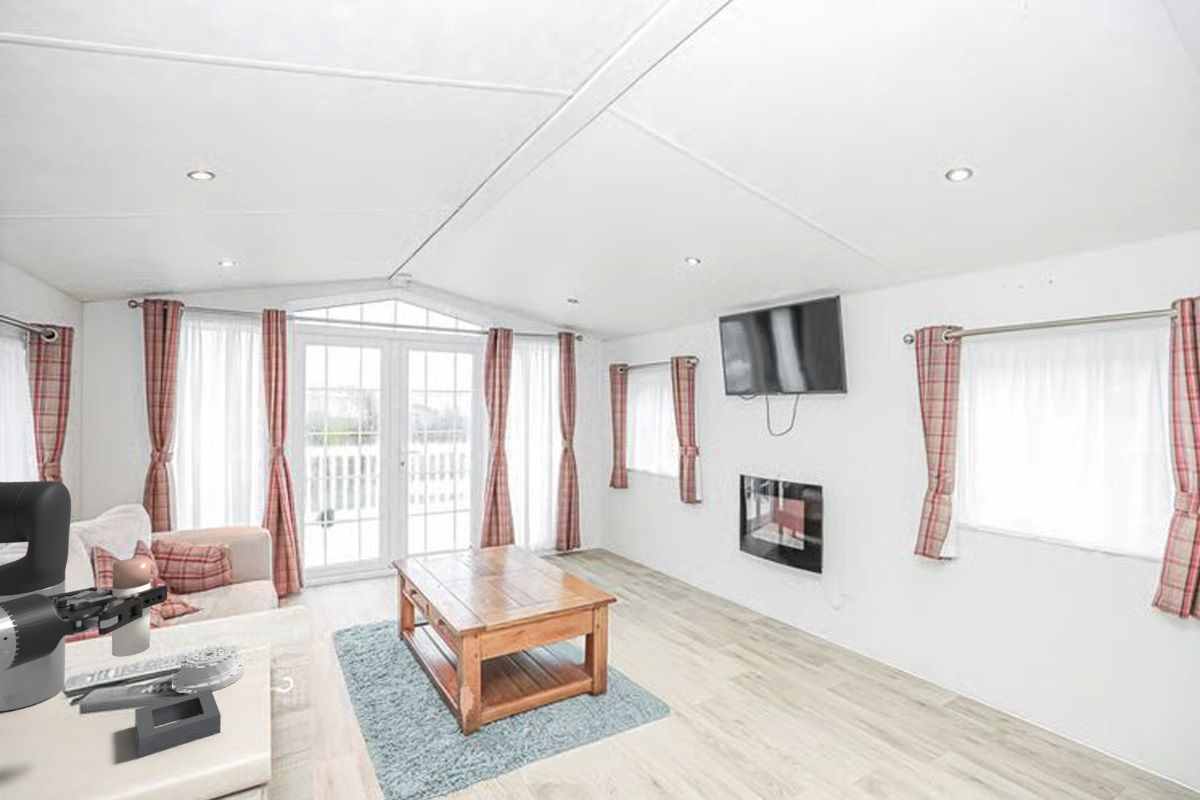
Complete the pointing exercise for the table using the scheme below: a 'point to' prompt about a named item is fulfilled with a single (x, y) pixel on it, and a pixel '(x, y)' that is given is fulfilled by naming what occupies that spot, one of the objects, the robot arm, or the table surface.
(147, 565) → the peg
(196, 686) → the mechanical component
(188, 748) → the table surface
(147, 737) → the socket
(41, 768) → the table surface
